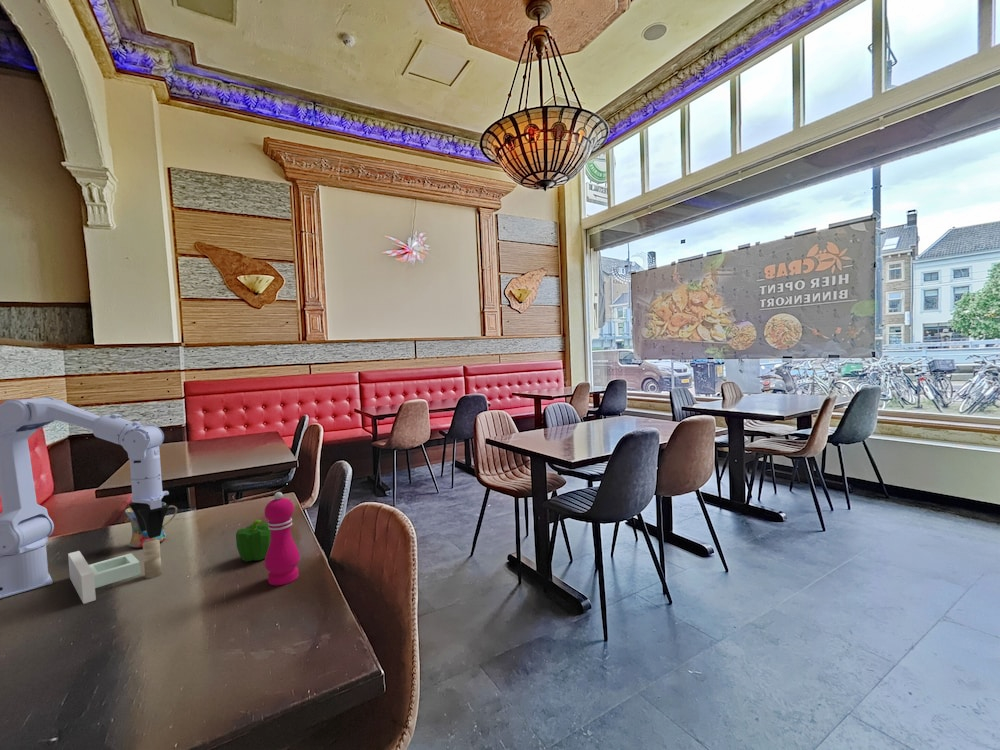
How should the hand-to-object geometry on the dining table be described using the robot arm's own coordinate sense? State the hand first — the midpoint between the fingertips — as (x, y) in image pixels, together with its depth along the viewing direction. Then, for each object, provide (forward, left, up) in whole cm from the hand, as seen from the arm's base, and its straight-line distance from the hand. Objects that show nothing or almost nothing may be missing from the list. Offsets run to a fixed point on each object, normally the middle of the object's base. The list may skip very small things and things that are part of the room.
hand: (150, 533), depth 109 cm
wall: (-12, +6, -10) cm, 17 cm away
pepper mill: (+18, -29, -10) cm, 36 cm away
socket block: (-6, +8, -10) cm, 14 cm away
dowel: (0, 0, -10) cm, 10 cm away
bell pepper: (+19, -11, -10) cm, 24 cm away
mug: (+6, +27, -10) cm, 30 cm away
